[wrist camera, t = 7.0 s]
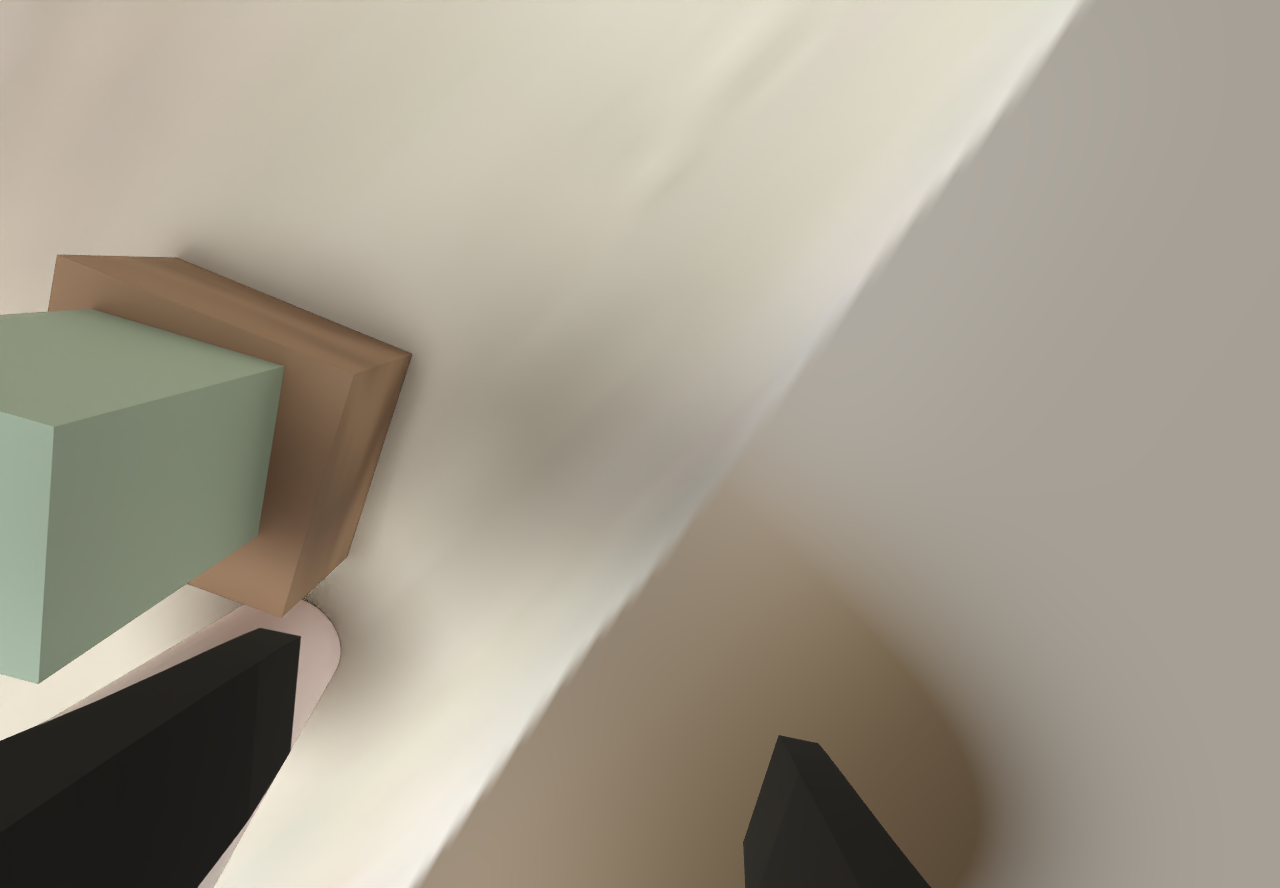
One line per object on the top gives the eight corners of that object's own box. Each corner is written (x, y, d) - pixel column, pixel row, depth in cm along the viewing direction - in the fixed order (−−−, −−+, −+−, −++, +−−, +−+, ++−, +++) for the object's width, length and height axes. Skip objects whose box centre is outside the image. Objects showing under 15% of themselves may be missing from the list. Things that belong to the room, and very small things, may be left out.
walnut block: (183, 257, 18) (56, 254, 14) (415, 352, 19) (354, 373, 15) (136, 472, 20) (13, 520, 16) (350, 552, 21) (281, 618, 17)
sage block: (90, 308, 15) (-272, 333, 9) (284, 366, 15) (54, 426, 9) (78, 485, 16) (-252, 608, 10) (258, 535, 16) (38, 684, 10)
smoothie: (411, 610, 21) (-41, 1240, 7) (340, 754, 22) (-140, 1495, 9) (223, 522, 20) (-657, 1037, 7) (164, 677, 22) (-648, 1350, 8)
